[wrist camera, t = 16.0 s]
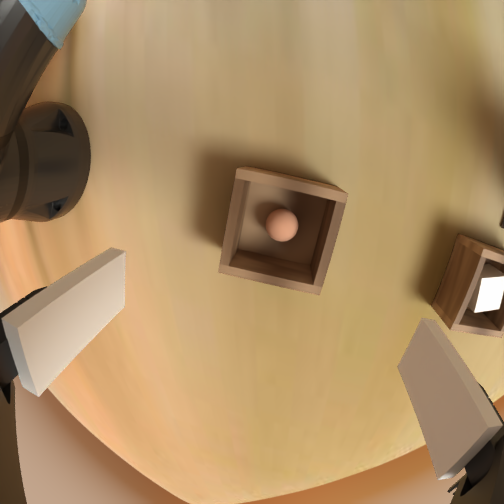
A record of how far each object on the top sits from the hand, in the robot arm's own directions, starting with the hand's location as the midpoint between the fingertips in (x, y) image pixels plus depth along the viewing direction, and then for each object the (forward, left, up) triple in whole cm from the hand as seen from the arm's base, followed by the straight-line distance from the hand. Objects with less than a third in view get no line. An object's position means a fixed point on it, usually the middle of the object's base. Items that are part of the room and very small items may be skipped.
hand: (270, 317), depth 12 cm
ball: (0, 0, -18) cm, 18 cm away
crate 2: (+24, -1, -19) cm, 30 cm away
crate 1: (0, 0, -19) cm, 19 cm away
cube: (+24, -1, -18) cm, 30 cm away
